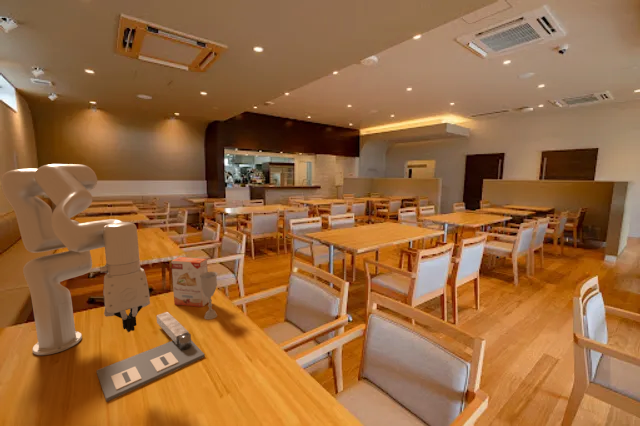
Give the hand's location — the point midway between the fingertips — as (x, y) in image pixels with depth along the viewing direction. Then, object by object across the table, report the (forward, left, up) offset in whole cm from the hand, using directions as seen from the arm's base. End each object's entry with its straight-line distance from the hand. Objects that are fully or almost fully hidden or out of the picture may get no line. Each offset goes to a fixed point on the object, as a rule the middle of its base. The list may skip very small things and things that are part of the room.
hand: (130, 329), depth 81 cm
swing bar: (-13, +15, -14) cm, 24 cm away
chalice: (-19, +31, -15) cm, 40 cm away
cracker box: (-36, +30, -15) cm, 50 cm away
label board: (-3, +5, -15) cm, 16 cm away
